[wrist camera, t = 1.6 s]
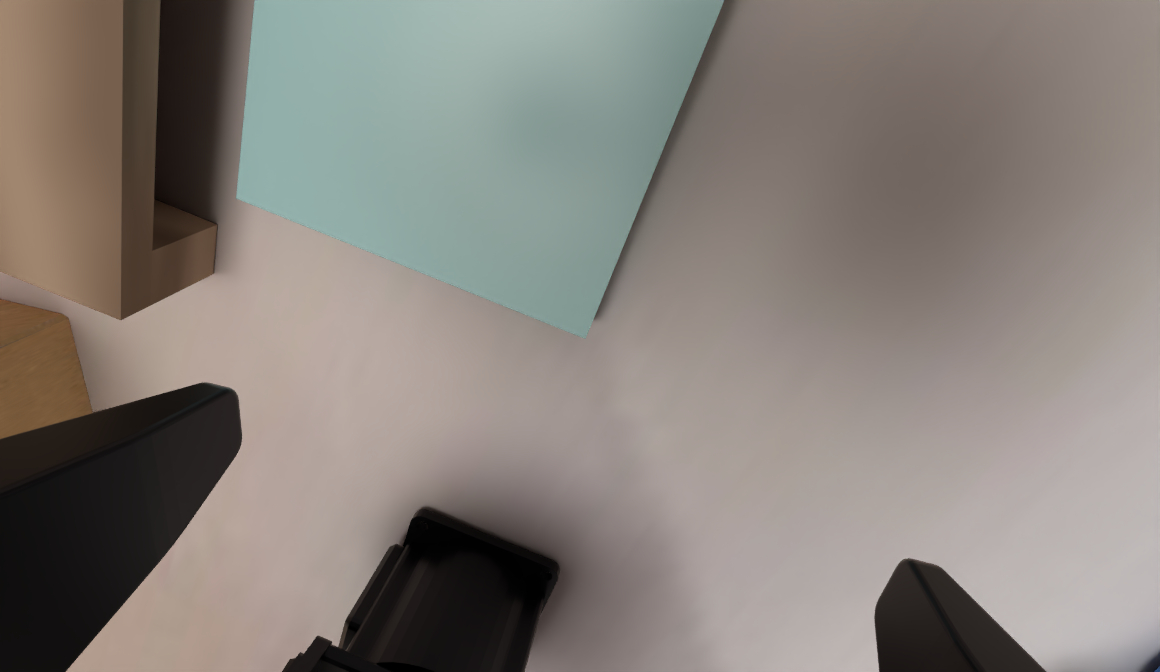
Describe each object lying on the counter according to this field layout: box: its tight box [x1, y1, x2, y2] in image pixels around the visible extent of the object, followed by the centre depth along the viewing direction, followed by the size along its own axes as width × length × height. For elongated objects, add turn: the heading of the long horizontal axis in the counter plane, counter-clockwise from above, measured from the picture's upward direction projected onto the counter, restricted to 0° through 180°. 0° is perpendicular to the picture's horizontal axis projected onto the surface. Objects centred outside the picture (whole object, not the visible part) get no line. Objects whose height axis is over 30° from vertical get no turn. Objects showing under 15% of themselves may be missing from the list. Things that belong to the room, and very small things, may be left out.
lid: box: [236, 0, 724, 339], centre depth 19 cm, size 12×12×2 cm
